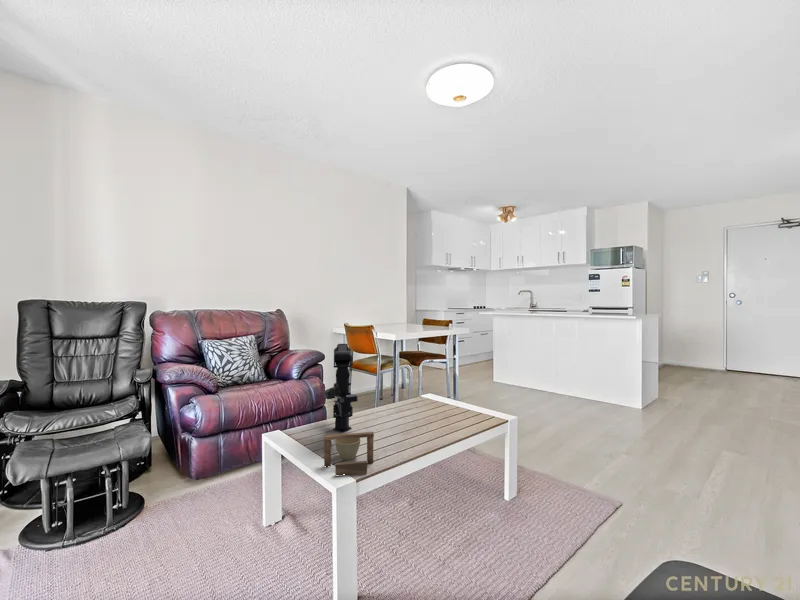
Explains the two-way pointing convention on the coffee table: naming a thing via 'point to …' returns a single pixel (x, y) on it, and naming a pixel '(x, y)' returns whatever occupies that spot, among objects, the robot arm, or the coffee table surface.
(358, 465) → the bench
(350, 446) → the flower pot
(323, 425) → the coffee table surface
